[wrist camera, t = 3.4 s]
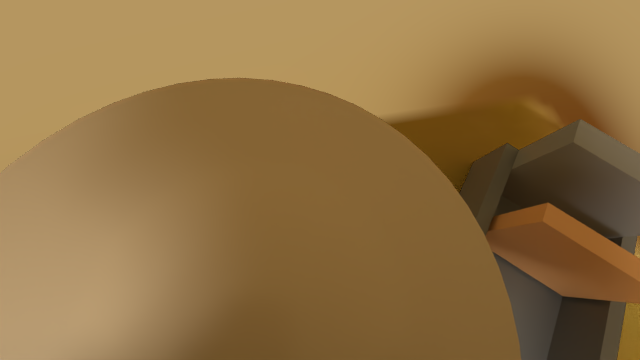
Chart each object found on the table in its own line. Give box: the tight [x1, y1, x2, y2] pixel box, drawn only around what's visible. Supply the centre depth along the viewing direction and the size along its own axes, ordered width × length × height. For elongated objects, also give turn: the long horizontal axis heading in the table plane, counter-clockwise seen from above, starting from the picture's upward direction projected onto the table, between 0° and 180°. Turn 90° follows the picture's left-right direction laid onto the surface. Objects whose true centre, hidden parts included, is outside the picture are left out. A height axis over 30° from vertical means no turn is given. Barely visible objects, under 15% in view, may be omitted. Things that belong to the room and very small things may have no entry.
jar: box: [0, 78, 521, 360], centre depth 9 cm, size 6×6×13 cm
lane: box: [459, 119, 640, 360], centre depth 13 cm, size 14×9×6 cm, turn 147°
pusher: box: [485, 203, 640, 304], centre depth 14 cm, size 1×6×5 cm, turn 58°
